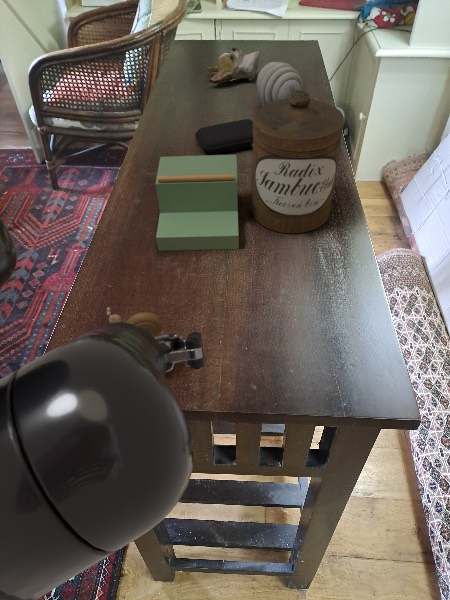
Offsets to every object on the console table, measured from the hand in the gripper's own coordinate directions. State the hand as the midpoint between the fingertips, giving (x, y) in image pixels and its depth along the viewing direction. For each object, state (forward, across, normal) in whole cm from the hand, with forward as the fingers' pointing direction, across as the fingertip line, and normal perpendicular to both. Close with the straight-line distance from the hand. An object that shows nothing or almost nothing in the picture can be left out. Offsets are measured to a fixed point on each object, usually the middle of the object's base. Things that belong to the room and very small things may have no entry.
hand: (133, 349), depth 48 cm
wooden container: (+36, -29, -17) cm, 50 cm away
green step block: (+36, -11, -17) cm, 41 cm away
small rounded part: (+15, 0, +4) cm, 15 cm away
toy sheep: (+66, -37, -46) cm, 88 cm away
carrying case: (+56, -22, -37) cm, 71 cm away
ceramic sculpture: (+81, -29, -62) cm, 106 cm away
